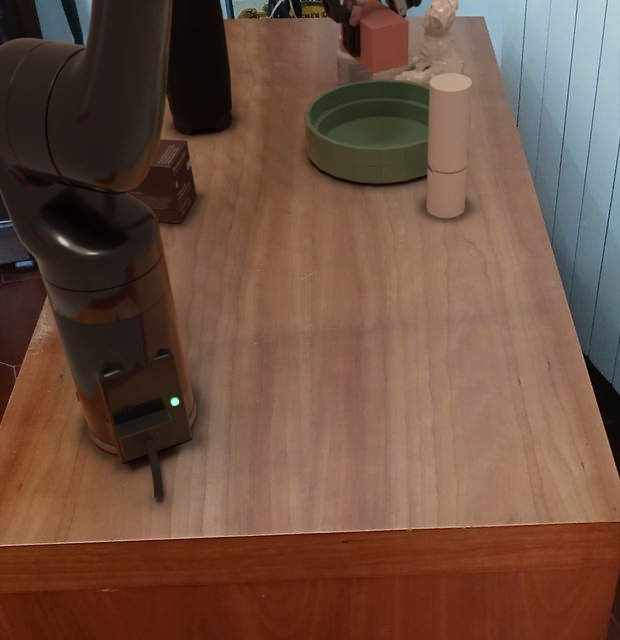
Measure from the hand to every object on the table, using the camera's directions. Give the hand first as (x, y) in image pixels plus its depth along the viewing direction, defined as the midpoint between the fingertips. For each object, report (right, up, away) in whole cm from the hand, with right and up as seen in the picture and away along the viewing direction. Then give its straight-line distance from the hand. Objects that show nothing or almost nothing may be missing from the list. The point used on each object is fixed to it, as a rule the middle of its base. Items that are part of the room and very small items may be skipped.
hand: (374, 49), depth 105 cm
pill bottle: (-2, 0, +21) cm, 21 cm away
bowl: (+1, -9, +10) cm, 13 cm away
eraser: (0, -1, +1) cm, 1 cm away
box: (-24, -18, +1) cm, 30 cm away
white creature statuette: (+9, +3, +23) cm, 25 cm away
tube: (+8, -18, -1) cm, 20 cm away
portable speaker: (-22, -4, +17) cm, 28 cm away
